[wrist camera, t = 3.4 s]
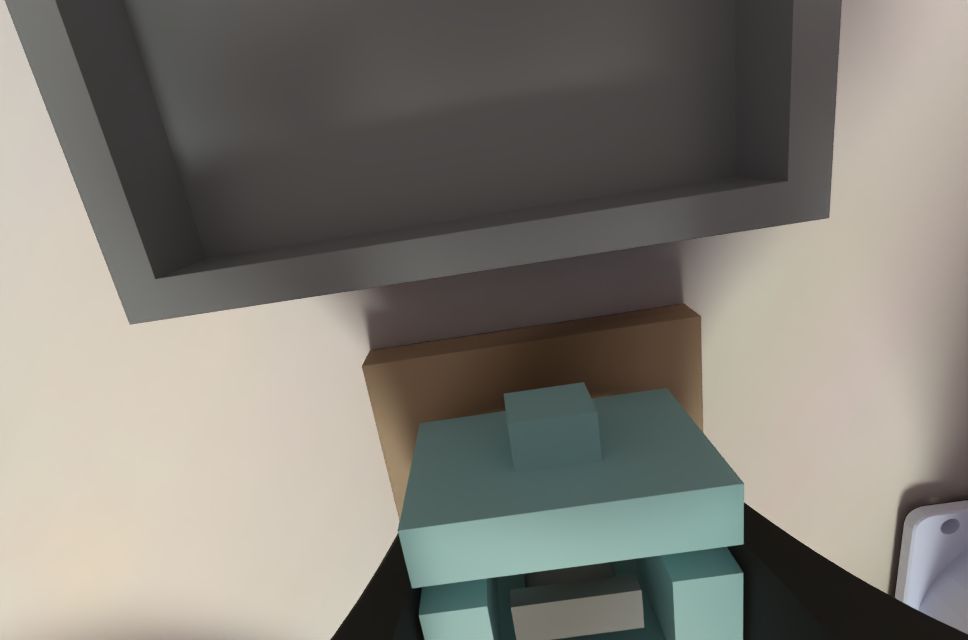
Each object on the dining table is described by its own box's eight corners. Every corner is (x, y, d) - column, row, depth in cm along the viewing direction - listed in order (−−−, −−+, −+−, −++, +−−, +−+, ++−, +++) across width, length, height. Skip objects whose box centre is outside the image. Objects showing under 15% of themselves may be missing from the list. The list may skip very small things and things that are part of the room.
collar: (665, 346, 11) (743, 428, 8) (675, 584, 13) (742, 728, 10) (411, 383, 11) (384, 479, 8) (460, 612, 14) (455, 763, 10)
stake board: (683, 304, 13) (805, 393, 8) (691, 558, 15) (789, 739, 11) (369, 350, 13) (311, 463, 8) (427, 594, 16) (407, 786, 11)
